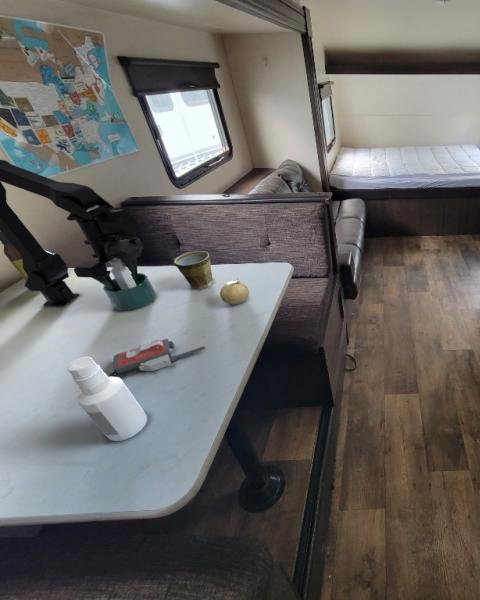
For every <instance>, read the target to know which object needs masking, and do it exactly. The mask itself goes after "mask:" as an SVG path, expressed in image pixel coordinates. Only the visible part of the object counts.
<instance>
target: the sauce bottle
mask: <svg viewBox="0 0 480 600" xmlns="http://www.w3.org/2000/svg"><path fill="white" fill-rule="evenodd" d="M0 243H1V244H2V245H3V254H4V256H6V258H7V259H8V260H9V262H10V263H11V265H12V266H13V267H14V268H15V270H16V271H17V272H18V273H19V275H20V276H21V277H22V278H23V279H24V281H25V282H26V280H27V278H28V275H27V274H26V272H25V271H24V269H23V260H22V256H21V255H20V254H19V252H18V251H17V250H16V249H15V248H14V246H13V245H12V244H11V243H10V242H9V241H8V239H7V238H6V237H5V236H4V235H3V233H2V232H1V231H0Z"/></svg>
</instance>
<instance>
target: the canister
mask: <svg viewBox="0 0 480 600" xmlns="http://www.w3.org/2000/svg"><path fill="white" fill-rule="evenodd" d="M137 273H138V275H133V274H132V273H130V274H131V276H132V278H133V280H134V281H135V283H136V285H137V286H135V287H132V288H129V289H126V290H121V288H120V286H119V285H118V283H117V281H116V279H115V278H113V279H112V278H111V279H112V281H113V283H114V285H115V287H116V290H111V289H109V288H108V287H106V286H105V285H103V287H102V289H103V291H104V293H105V295H106V296H107V298H108V299H109V301H110V302H111V304H112V307H113V308H115V310H116V311H118V312H132V311H133V312H134V311H136V310H140V309H142V308H144V307H147V306H149V305H150V304H152V303H153V302H154V301H155V300H156V298H157V293H156V290H155V289H154V287H153V285H152V283H151V281H150V279H149V277H148V276H147V274H145V273H142V272H137Z"/></svg>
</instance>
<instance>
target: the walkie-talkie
mask: <svg viewBox="0 0 480 600" xmlns="http://www.w3.org/2000/svg"><path fill="white" fill-rule="evenodd" d="M175 348H176V347H175V344H174V342H173V341H172V340H170V341H169V339H168V338H164V339H157V340H153V341H151V342H146V343H144V344H140V345H139V346H138V347H135V348H132V349H129V350H126V351H122V352H120V353H116V354H115V355H113V359H112V370H113V371H112V372H111V371H110V373H109V375H108V377H118V378H124V377H126V376H129V375H132V374H135V373H139V372H142V371H144V372H154V371H158V370H160V369H163V368H166V367H170V366H172V363H173V362H175V361H177V360H180V359H183V358H186V357H188V356H191V355H194V354H195V353H198V352H202V351H204V350H206V347H205V346H200V347H198V348H194V349H191V350H189V351H185V352H183V353H180V354H176V355H175V354H174V353H173V352H174V351H173V349H175Z"/></svg>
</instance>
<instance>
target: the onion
mask: <svg viewBox="0 0 480 600" xmlns="http://www.w3.org/2000/svg"><path fill="white" fill-rule="evenodd" d="M238 278H239V277H238ZM238 278H236V281H233V280H232V281H227V282H226V283H225V284H223V285H222V287H221V288H220V291H219V296H220V299H221V300H222V301H223V302H224V303H225V304H227V305H231V306H232V305H239V304H242V303H244V302H245V301H247V299H248V298H249V295H250V290H249V288H248V286H247V285H246V284H245V283H243V282H241V281H240V280H239V279H238Z"/></svg>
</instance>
